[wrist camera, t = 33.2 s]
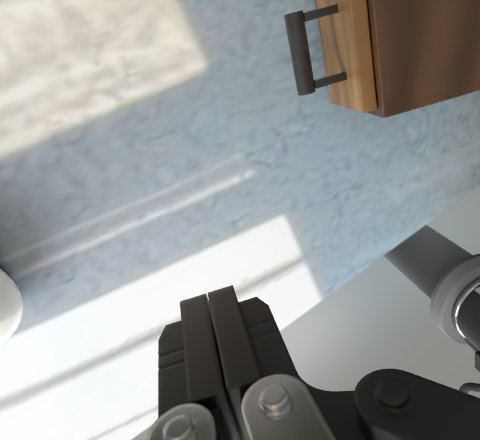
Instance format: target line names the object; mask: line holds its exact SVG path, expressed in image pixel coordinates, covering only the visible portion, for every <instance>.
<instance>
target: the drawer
mask: <svg viewBox="0 0 480 440" xmlns="http://www.w3.org/2000/svg"><path fill="white" fill-rule="evenodd" d="M316 5H317V10H313V11H309V12H305V13H303V11H302V10H301V11H298V12H294V13H290V14H286V15H284V17H285V23H286V28H287V34H288V40H289V45H290V51H291V57H292V62H293V68H294V74H295V79H296V85H297V91H298V95H308V94H311V93H314V92H315V88H320V87H323V86H327V85H328V88H329V95H330V102H331V103H334V104H337V105H340V106H343V107H346V108H350V109H353V110H356V111H359V112H362V113H365V112H368V111H372V110H375V109H377V102H376V92H377V87H376V76H375V66H374V56H373V46H372V36H371V25H370V15H369V5H368V0H316ZM317 18H318V19H319V26H320V33H321V39H322V46H323V53H324V60H325V67H326V74H327V77H324V78H320V79H317V80H314V79H313V72H312V66H311V60H310V53H309V47H308V41H307V34H306V28H305V21H309V20H313V19H317Z"/></svg>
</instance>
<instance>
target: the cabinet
mask: <svg viewBox="0 0 480 440" xmlns="http://www.w3.org/2000/svg"><path fill="white" fill-rule="evenodd" d="M368 5H369V15H370V25H371V36H372V46H373V56H374V66H375V76H376V87H377V92H376V102H377V109H375V110H372V111H368V112H366V113H370V114H373V115H376V116H380V117H383V118H386V117H389V116H393V115H396V114H399V113H403V112H406V111H410V110H413V109H417V108H420V107H424V106H427V105H431V104H434V103H438V102H441V101H444V100H448V99H451V98H455V97H458V96H462V95H465V94H469V93H472V92H476V91H479V90H480V0H368Z"/></svg>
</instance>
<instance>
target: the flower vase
mask: <svg viewBox="0 0 480 440" xmlns="http://www.w3.org/2000/svg"><path fill="white" fill-rule="evenodd" d="M22 316H23V301H22V298H21V294H20V291H19V289H18V288H17V286H16V285H15V283H14V282H13V280H12V279H10V278H9V276H8V275H7V274H6V273H5V272H4V271H3V270H2V269H0V345H1V344H3V343H4V342H5V341H7V340H8V339H9V338H10V336H11V335H12V334H13V333H14V332H15V330H16V329H17V328H18V326H19V323H20V321H21V318H22Z"/></svg>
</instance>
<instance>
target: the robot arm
mask: <svg viewBox="0 0 480 440" xmlns="http://www.w3.org/2000/svg"><path fill="white" fill-rule="evenodd" d="M208 297H209V300H208V298H207V295H206V294H203V295H200V296H197V297H193V298H190V299H187V300H184V301H180V308H181V320H182V321H178V322H175V323H172V324H169V325H166V327H165V329H164V330H163V332H162V334H161V336H160V338H159V351H158V355H159V358H158V367H159V370H158V419H157V420H156V421H155V423H154V424H153V425H152V427H151V429H150V431H149V433H148V435H147V439H146V440H480V398H477V397H475V396H472V395H469V394H467V393H468V392H469V391H477V392H480V384H476V383H465V384H463V385H462V386H461V387H460V389H459V391H458V390H456V389H453V388H450V387H447V386H445V385H442V384H439V383H436V382H434V381H431V380H428V379H425V378H423V377H420V376H417V375H415V374H412V373H409V372H406V371H403V370H398V369H381V370H377V371H374V372H372V373H369V374H367V375H366V376H365V377H363V378H362V379H361V380H360V381H359V383H358V384H357V386H356V388H355V391H339V392H334V391H333V392H331V391H324V390H320V389H316V388H314V387H312V386H310V385H308V384H307V383H305V382H304V381H303V380H302V379H301V378H300V376H299V375H298V373H297V371H296V369H295V367H294V364H293V362H292V359H291V357H290V355H289V353H288V350H287V348H286V346H285V343H284V341H283V339H282V336H281V334H280V331H279V329H278V327H277V324H276V322H275V320H274V317H273V315H272V313H271V310H270V308H269V306H268V305H267V304H266V303H264V302H263V301H261V300H260V299H259V298H257V297H254V298H251V299H248V300H245V301H242V302H239V303H238V300H237V297H236V294H235V291H234V288H233V285H232V286H228V287H225V288H222V289H219V290H215V291H212V292H209V293H208ZM209 302H210V303H209ZM452 323H453V325H454V327H455V329H456V330H457V331H458V332H459V333H460V334H461V335H462V336H463V337H464V341H465V342H466V343H467V344H468V345H469V346H471V347H472V348H473V349H474V350H475V351H476V352H475V368H476V369H477V370H478V371H479V372H480V277H478V278H476V279H475V280H473V281H472V282H471V283H469V284H468V285H467V286H466V287H465V288H464V289H463V290H462V291H461V293H460V294H459V296H458V297H457V299H456V301H455V303H454V306H453V309H452Z"/></svg>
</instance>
